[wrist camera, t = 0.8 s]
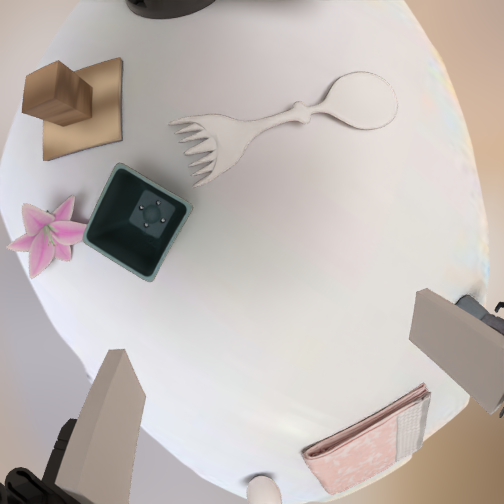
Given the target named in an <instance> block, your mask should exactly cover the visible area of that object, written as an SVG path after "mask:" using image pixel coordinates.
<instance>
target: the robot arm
mask: <svg viewBox="0 0 504 504" xmlns="http://www.w3.org/2000/svg"><path fill="white" fill-rule="evenodd" d="M214 1H215V0H126V2H127V4H128V6H129V8H130V9H131V10H132V11H133V12H134V13H136V14H138V15H140V16H143V17H147V18H155V19H165V18H174V17H179V16H184V15H187V14H191V13H193V12H196V11H198V10H201V9H203V8H205V7H206V6H208V5H210V4H211V3H212V2H214ZM409 340H410V341H411V342H412V343H413V344H415V345H416V346H417V347H418V348H419V349H420V350H421V351H422V352H424V353H425V354H426V355H427V356H428V357H429V358H430V359H431V360H433V361H434V362H435V363H436V364H437V365H438V366H439V367H440V368H441V369H442V370H444V371H445V372H446V373H447V374H448V375H449V376H450V377H451V378H452V379H453V380H454V381H455V382H457V383H458V384H459V385H460V386H461V387H462V388H463V389H464V390H465V391H466V392H467V393H468V394H469V395H470V396H471V397H472V398H474V399H475V400H476V401H477V402H478V403H479V404H480V405H481V406H482V407H483V408H484V409H485V410H486V411H487V412H488V413H489V414H490V415H491V414H492V413H494V412H495V411H496V410H497V409H498V408H499V407H500V406H501V404H502V402H503V401H504V334H503V333H502V334H501V332H500V331H499V330H497V329H496V328H494V327H492V326H489V325H486V324H485V323H483V322H482V321H480V320H479V319H477V318H476V317H474V316H472V315H471V314H469V313H468V312H466V311H464V310H463V309H461V308H459V307H458V306H456V305H455V304H453V303H451V302H450V301H448V300H446V299H445V298H443V297H441V296H440V295H438V294H436V293H434V292H433V291H431V290H429V289H428V288H426V289H423V290H420V291H417V292H416V299H415V306H414V313H413V319H412V324H411V330H410V335H409ZM145 399H146V395H145V393H144V391H143V389H142V387H141V385H140V383H139V380H138V378H137V376H136V374H135V372H134V369H133V367H132V365H131V362H130V360H129V358H128V355H127V353H126V350H125V349H116V350H109V351H108V353H107V355H106V357H105V359H104V361H103V363H102V365H101V367H100V369H99V371H98V374H97V376H96V378H95V380H94V382H93V384H92V387H91V389H90V391H89V393H88V396H87V398H86V401H85V403H84V405H83V407H82V410H81V412H80V415H79V417H78V419H69V420H68V422H66V424H65V425H64V426H63V427H62V428H61V431H60V433H59V435H58V438H57V439H58V441H56V443H55V445H54V449H53V450H52V453H51V456H50V458H49V461H48V464H47V467H46V470H45V472H44V475H43V478H42V480H40V479H39V478H37V477H36V476H35V475H34V474H33V473H32V472H30V471H29V470H28V469H26V468H22V467H19V468H15V469H13V470H12V471H10V472H9V473H8V475H7V476H6V479H5V486H4V485H3V484H1V483H0V504H129V494H130V486H131V479H132V472H133V465H134V458H135V452H136V446H137V440H138V435H139V429H140V424H141V419H142V414H143V409H144V404H145ZM503 414H504V407H503V409H502V411H501V412H500V418H501V417H502V416H503Z"/></svg>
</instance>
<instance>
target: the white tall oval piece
mask: <svg viewBox="0 0 504 504" xmlns="http://www.w3.org/2000/svg"><path fill="white" fill-rule="evenodd" d="M247 500H248V503H249V504H282V498H281V493H280V490H279V488H278V486H277V485H276V483H275V482H274V481H273V480H272V479H270V478H268V477H266V476H257V477H255V478H253V480H251V481H250V482H249V484H248V487H247Z"/></svg>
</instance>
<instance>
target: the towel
mask: <svg viewBox="0 0 504 504" xmlns="http://www.w3.org/2000/svg"><path fill="white" fill-rule="evenodd" d="M430 398H431V392H428V389H427V388H426V386H425V383H422V384H421V385H419V386H418V387H416V388H415V389H414V390H412V391H411V392H409V393H408V394H407V395H405V396H404V397H402V398H401V399H399V400H397V401H396V402H394V403H393V404H391V405H389V406H388V407H386V408H385V409H383V410H381V411H380V412H378V413H377V414H375V415H373V416H371V417H369V418H367V419H365V420H363V421H361V422H360V423H358V424H356V425H354V426H352V427H350V428H348V429H346V430H344V431H342V432H340V433H338V434H336V435H333V436H331V437H329V438H327V439H325V440H323V441H321V442H319V443H317V444H316V445H314V446H313V447H311V448H310V449H308V450H307V451H306V452H305V453H304V454H303V459H304V460H305V463H306V464H307V465H308V466H309V469H310V470H311V472H312V473H313V474H314V475H315V476H316V477H317V478H318V479H319V481H320V483H321V484H322V486H323V488H324V489H325V491H326V492H328V493H329V494H331V495H334V494H336V493H339V492H343V491H345V490H347V489H349V488H351V487H353V486H355V485H357V484H359V483H361V482H363V481H365V480H367V479H369V478H371V477H372V476H374V475H376V474H378V473H380V472H382V471H384V470H385V469H387V468H388V467H390V466H391V465H393V464H394V463H395V462H397V461H399V460H401V459H402V458H404V457H406V456H408V455H410V454H412V453H413V452H415V451H417V450H419V449H420V448H422V442H423V436H424V431H425V426H426V419H427V412H428V407H429V403H430Z"/></svg>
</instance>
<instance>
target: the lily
mask: <svg viewBox="0 0 504 504" xmlns="http://www.w3.org/2000/svg"><path fill="white" fill-rule="evenodd" d="M74 202H75V196H74V195H72V196H71V197H69V198H68V199H67V200H66V201H65V202H63V203H62V204H61V205H60V206H59V207H58V208H57V209H56V210H55V211H54V212H53V213H52V214H49V213H48V210H47V211H46V212H45V211H43V210H41V209H39V208H37V207H35V206H33V205H31V204H28V203H25V204H23V206H22V216H23V222H24V226H25V230H26V234H24V235H22V236H21V237H19V238H18V239H16V240H15V241H13V242H12V243H10V244H9V245H8V246H7V249H9V250H13V251H20V252H28V251H30V252H29V275H30V278H31V279H32V278H35V277H36V276H38V275H39V274H40V273H41V272H42V271H43V270H44V269H45V268H46V267H47V266H48V265H49V264H50V263H51V261H52V259H53V257H55V258H57V259H59V260H63V261H70V260H71V257H72V256H71V248H70V245H73V244H76V243H78V242H81V241H82V237H83V233H84V231H85V228H86V226H87V224H82V223H77V222H73V221H70V219H71V216H72V213H73V208H74Z"/></svg>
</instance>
